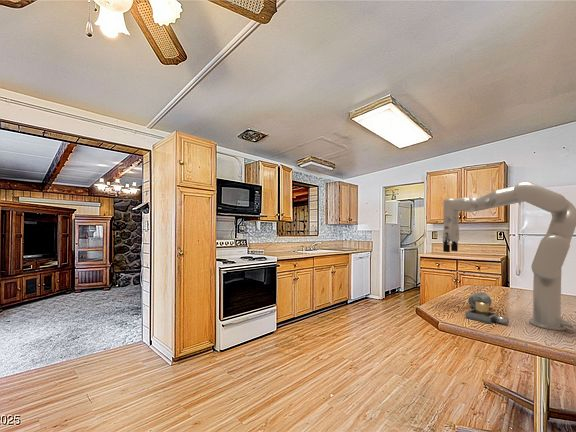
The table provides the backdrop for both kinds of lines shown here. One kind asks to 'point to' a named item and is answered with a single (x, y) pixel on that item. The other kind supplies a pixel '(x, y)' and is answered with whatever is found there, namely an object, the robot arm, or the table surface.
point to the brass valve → (482, 307)
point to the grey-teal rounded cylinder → (478, 296)
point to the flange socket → (486, 317)
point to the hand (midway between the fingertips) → (450, 251)
